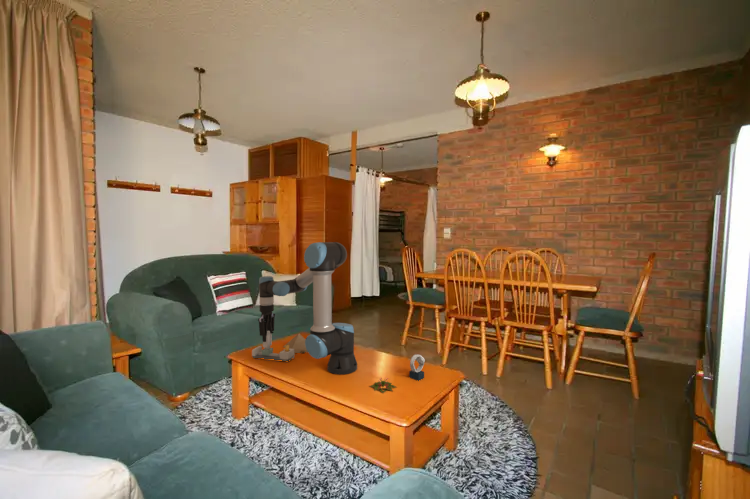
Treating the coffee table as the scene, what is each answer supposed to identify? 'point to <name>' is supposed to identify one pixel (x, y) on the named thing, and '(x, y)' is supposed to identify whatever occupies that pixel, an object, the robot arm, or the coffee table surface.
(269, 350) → the carriage
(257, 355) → the rail bench
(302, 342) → the model pyramid
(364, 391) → the coffee table surface
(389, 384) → the green leafy ornament
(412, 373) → the watch
